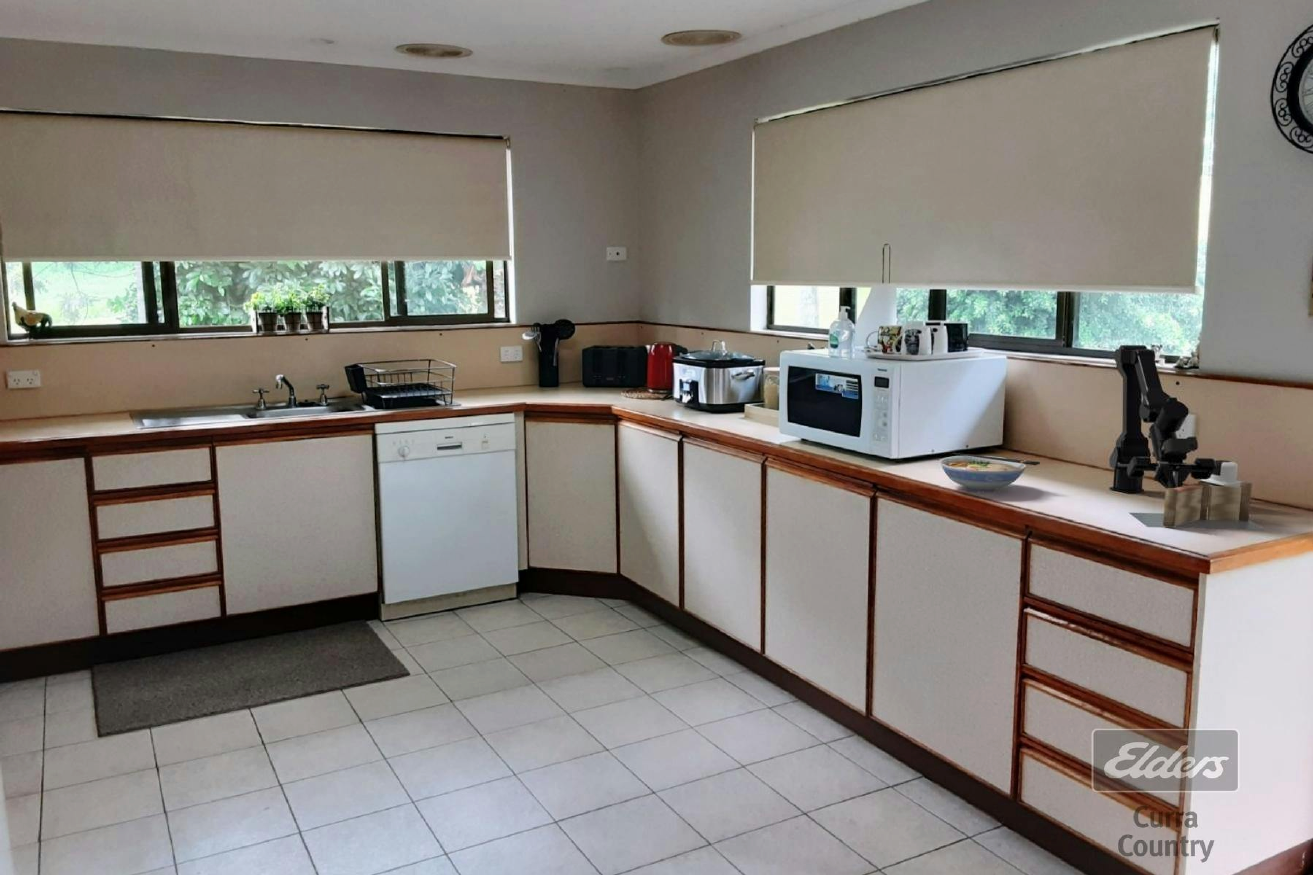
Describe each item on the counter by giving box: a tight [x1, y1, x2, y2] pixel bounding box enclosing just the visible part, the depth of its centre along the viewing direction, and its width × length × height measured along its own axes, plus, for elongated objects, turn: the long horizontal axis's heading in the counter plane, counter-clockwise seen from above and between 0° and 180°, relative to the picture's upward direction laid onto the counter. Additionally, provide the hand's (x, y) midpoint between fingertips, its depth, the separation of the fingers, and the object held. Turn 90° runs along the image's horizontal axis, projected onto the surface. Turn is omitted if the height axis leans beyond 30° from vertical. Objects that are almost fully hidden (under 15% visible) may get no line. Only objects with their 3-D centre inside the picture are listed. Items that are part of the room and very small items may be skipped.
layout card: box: [1128, 512, 1267, 531], centre depth 245 cm, size 26×14×1 cm, turn 83°
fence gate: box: [1163, 483, 1203, 527], centre depth 241 cm, size 13×2×9 cm, turn 123°
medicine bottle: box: [1200, 459, 1243, 508], centre depth 258 cm, size 7×7×12 cm
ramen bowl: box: [939, 452, 1041, 493], centre depth 282 cm, size 25×23×8 cm
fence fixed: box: [1197, 480, 1253, 521], centre depth 245 cm, size 12×2×9 cm, turn 83°
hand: (1178, 497), depth 243 cm, fingers closed
